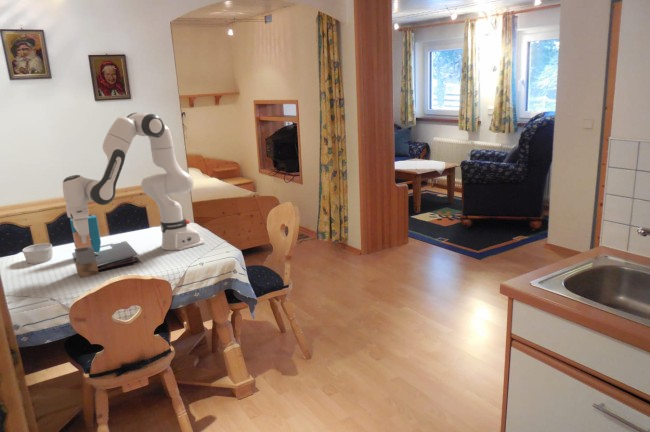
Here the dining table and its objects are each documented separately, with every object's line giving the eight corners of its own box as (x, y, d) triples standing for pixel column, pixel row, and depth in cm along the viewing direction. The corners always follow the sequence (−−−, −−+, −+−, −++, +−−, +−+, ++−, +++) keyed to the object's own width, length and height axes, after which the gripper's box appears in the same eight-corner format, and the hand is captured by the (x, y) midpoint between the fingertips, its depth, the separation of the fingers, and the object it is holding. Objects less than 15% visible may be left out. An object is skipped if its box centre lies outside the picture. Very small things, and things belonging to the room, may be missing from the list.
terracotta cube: (89, 242, 238) (86, 230, 236) (91, 245, 233) (89, 233, 231) (75, 245, 235) (72, 232, 233) (77, 248, 230) (74, 235, 228)
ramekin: (30, 266, 250) (27, 253, 248) (21, 261, 259) (18, 248, 257) (58, 259, 259) (56, 246, 258) (48, 254, 268) (46, 241, 266)
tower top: (93, 257, 240) (90, 245, 239) (96, 261, 235) (93, 249, 233) (76, 261, 237) (74, 248, 235) (79, 265, 231) (77, 252, 229)
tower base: (95, 269, 243) (93, 257, 241) (98, 273, 236) (96, 261, 235) (77, 273, 239) (75, 260, 237) (80, 278, 232) (77, 265, 230)
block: (77, 259, 257) (70, 221, 252) (76, 256, 262) (69, 219, 256) (103, 254, 263) (96, 217, 258) (101, 252, 267) (95, 215, 262)
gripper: (66, 208, 237) (72, 237, 240) (73, 217, 220) (78, 247, 224) (81, 206, 240) (86, 234, 243) (89, 214, 223) (94, 244, 227)
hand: (82, 241), depth 233 cm, fingers closed on terracotta cube, 6 cm apart
